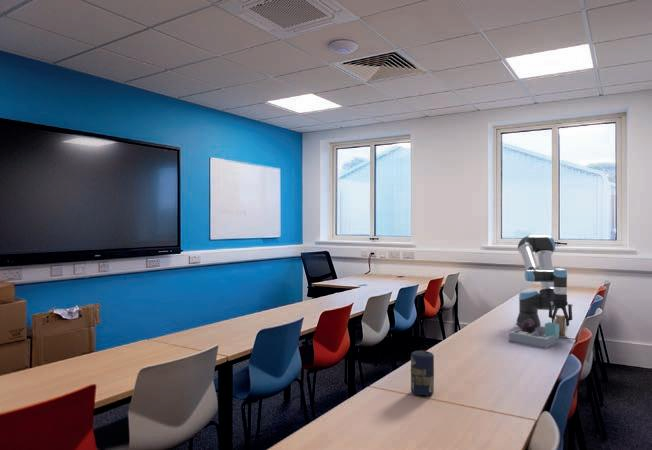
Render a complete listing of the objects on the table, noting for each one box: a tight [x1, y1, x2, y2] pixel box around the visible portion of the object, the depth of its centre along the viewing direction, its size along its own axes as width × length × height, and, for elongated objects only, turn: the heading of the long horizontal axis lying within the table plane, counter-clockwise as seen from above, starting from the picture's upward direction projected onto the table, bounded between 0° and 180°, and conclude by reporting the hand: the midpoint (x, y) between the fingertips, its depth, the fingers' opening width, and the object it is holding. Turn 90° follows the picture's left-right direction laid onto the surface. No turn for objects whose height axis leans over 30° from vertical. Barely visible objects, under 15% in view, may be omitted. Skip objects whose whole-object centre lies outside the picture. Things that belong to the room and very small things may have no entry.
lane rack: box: [508, 328, 557, 349], centre depth 269 cm, size 14×22×5 cm, turn 43°
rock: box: [519, 319, 537, 334], centre depth 290 cm, size 12×9×10 cm
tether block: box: [544, 314, 566, 341], centre depth 281 cm, size 19×6×12 cm, turn 133°
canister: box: [410, 350, 435, 396], centre depth 190 cm, size 10×10×18 cm
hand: (560, 330), depth 285 cm, fingers open, 6 cm apart
